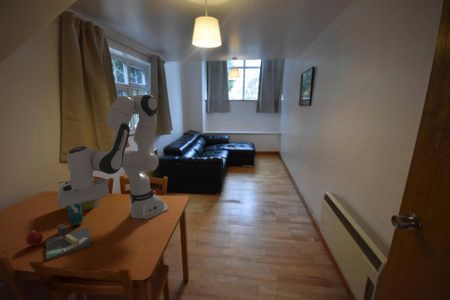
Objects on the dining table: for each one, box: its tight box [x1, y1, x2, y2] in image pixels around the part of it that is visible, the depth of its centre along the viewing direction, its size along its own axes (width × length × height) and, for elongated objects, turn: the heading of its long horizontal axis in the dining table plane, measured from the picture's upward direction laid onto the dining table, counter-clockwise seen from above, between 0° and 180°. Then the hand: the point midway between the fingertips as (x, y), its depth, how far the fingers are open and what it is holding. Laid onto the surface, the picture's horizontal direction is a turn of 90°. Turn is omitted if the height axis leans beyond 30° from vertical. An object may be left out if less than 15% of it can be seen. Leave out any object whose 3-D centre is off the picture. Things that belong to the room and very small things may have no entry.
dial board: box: [45, 227, 93, 262], centre depth 103 cm, size 17×16×1 cm
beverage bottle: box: [66, 203, 84, 226], centre depth 117 cm, size 6×7×20 cm
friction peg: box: [56, 223, 79, 246], centre depth 102 cm, size 2×15×6 cm, turn 61°
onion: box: [25, 230, 44, 247], centre depth 101 cm, size 6×6×8 cm
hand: (86, 209), depth 101 cm, fingers open, 7 cm apart
